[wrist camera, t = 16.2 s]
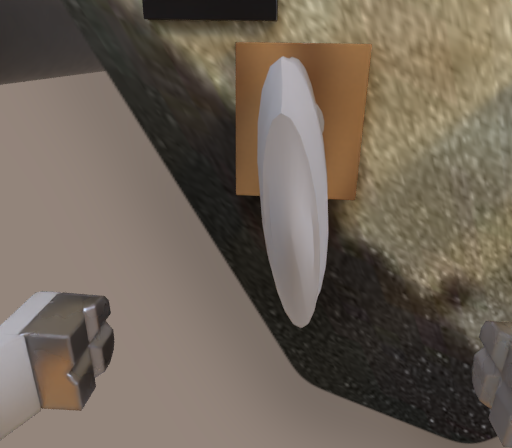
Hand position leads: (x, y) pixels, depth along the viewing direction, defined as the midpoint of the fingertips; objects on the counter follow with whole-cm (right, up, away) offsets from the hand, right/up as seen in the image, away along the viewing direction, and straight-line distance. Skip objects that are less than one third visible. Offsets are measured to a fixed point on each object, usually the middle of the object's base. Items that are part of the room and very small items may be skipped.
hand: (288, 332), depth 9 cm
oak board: (+3, +11, +26) cm, 28 cm away
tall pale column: (+3, +10, +25) cm, 27 cm away
